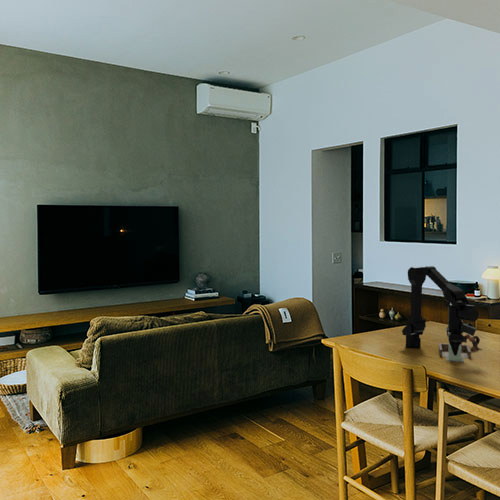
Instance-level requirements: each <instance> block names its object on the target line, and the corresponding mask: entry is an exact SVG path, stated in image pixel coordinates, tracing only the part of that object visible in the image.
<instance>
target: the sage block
mask: <svg viewBox="0 0 500 500" xmlns="http://www.w3.org/2000/svg"><path fill="white" fill-rule="evenodd" d="M448 344H449V348H448V358H449V360H457V361H461V345H459V349H458V353H457V355H454V354H453V351H452V348H451V346H450V343H448Z"/></svg>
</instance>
